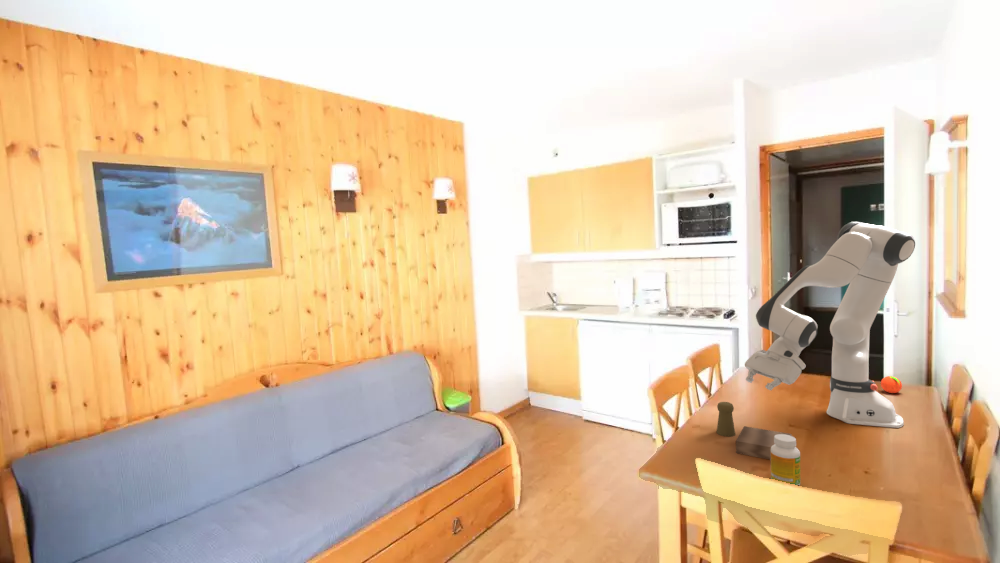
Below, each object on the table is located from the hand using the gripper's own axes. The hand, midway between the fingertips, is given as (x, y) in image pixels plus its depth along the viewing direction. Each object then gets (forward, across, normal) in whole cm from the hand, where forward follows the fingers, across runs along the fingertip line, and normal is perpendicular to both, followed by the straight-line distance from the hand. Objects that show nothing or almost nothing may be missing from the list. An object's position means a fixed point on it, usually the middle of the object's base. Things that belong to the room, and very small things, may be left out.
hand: (757, 385), depth 170 cm
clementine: (-43, -13, +66) cm, 79 cm away
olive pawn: (+20, -1, +3) cm, 21 cm away
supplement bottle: (+25, +33, -2) cm, 42 cm away
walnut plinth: (+18, +14, +5) cm, 24 cm away
